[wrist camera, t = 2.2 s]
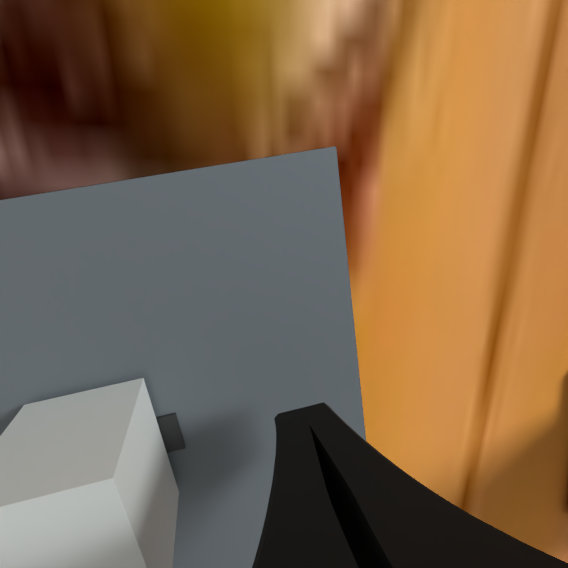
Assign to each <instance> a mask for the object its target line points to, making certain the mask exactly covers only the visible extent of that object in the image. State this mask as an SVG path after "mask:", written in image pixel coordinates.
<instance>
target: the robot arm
mask: <svg viewBox="0 0 568 568" xmlns="http://www.w3.org/2000/svg"><path fill="white" fill-rule="evenodd" d="M274 420H275V425H276V455H275V463H274V472H273V480H272V486H271V491H270V497H269V502H268V507H267V512H266V517H265V521H264V525H263V530H262V534H261V538H260V541H259V545H258V549H257V552H256V556H255V559H254V563H253V566H252V568H568V563H566V562H564V561H562V560H559V559H557V558H555V557H553V556H551V555H548V554H546V553H544V552H542V551H540V550H538V549H535V548H533V547H531V546H529V545H527V544H525V543H523V542H521V541H519V540H517V539H515V538H513V537H511V536H510V535H508V534H506V533H504V532H502V531H500V530H498V529H496V528H494V527H492V526H491V525H489V524H487V523H485V522H483V521H481V520H479V519H477V518H475V517H474V516H472V515H470V514H469V513H467V512H465V511H463V510H462V509H460V508H458V507H457V506H455V505H453V504H452V503H450V502H449V501H447V500H445V499H444V498H442V497H441V496H439V495H438V494H436V493H434V492H433V491H431V490H430V489H428V488H427V487H425V486H424V485H422V484H421V483H419V482H418V481H417V480H415V479H414V478H412V477H411V476H410V475H408V474H407V473H406V472H404V471H403V470H401V469H400V468H399V467H397V466H396V465H395V464H393V463H392V462H391V461H390V460H388V459H387V458H386V457H384V456H383V455H382V454H381V453H380V452H378V451H377V450H376V449H375V448H374V447H372V446H371V445H370V444H369V443H368V442H366V441H365V440H364V439H363V438H362V437H361V436H359V435H358V434H357V433H356V432H355V431H354V430H353V429H352V428H351V427H350V426H348V425H347V424H346V423H345V422H344V421H343V420H342V419H341V418H340V417H339V416H338V415H337V414H336V413H335V412H334V411H333V410H332V409H331V408H330V407H329V406H328V405H327V404H325V403H324V402H323V403H319V404H315V405H311V406H307V407H303V408H299V409H295V410H291V411H287V412H283V413H279V414H277V416H276V417H275V418H274Z"/></svg>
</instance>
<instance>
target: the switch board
mask: <svg viewBox="0 0 568 568" xmlns="http://www.w3.org/2000/svg"><path fill="white" fill-rule="evenodd" d="M140 378H144V381H145V384H146V388H147V391H148V394H149V397H150V400H151V404H152V407H153V410H154V413H155V417H156V420H157V423H158V426H159V429H160V433H161V436H162V439H163V442H164V446H165V449H166V452H167V455H168V458H169V462H170V465H171V468H172V471H173V475H174V478H175V481H176V484H177V487H178V491H179V498H178V509H177V521H176V532H175V543H174V554H173V566H172V568H252V566H253V563H254V559H255V556H256V552H257V549H258V545H259V541H260V538H261V534H262V530H263V525H264V521H265V517H266V512H267V507H268V502H269V497H270V491H271V486H272V480H273V472H274V463H275V455H276V425H275V420H274V418H275V417H276V416H277V414H279V413H283V412H287V411H291V410H295V409H299V408H303V407H307V406H311V405H315V404H319V403H323V402H324V403H325V404H327V405H328V406H329V407H330V408H331V409H332V410H333V411H334V412H335V413H336V414H337V415H338V416H339V417H340V418H341V419H342V420H343V421H344V422H345V423H346V424H347V425H348V426H350V427H351V428H352V429H353V430H354V431H355V432H356V433H357V434H358V435H359V436H361V437H362V438H363V439H364V440H365V441H366V437H365V427H364V417H363V407H362V397H361V387H360V378H359V368H358V358H357V348H356V338H355V329H354V319H353V309H352V299H351V289H350V280H349V270H348V260H347V250H346V240H345V230H344V221H343V211H342V201H341V191H340V181H339V172H338V162H337V152H336V146H335V147H328V148H321V149H315V150H309V151H303V152H297V153H290V154H284V155H278V156H272V157H266V158H259V159H253V160H247V161H241V162H235V163H228V164H222V165H216V166H210V167H203V168H197V169H191V170H185V171H179V172H172V173H166V174H160V175H154V176H148V177H141V178H135V179H129V180H123V181H117V182H110V183H104V184H98V185H92V186H85V187H79V188H73V189H67V190H61V191H54V192H48V193H42V194H36V195H30V196H23V197H17V198H11V199H5V200H0V436H1V435H2V433H3V432H4V431H5V429H6V428H7V427H8V425H9V424H10V423H11V421H12V420H13V419H14V418H15V416H16V415H17V414H18V412H19V411H20V410H21V408H22V407H23V406H24V405H25V404H30V403H34V402H39V401H43V400H47V399H52V398H56V397H61V396H65V395H70V394H74V393H78V392H83V391H87V390H92V389H96V388H100V387H105V386H109V385H114V384H118V383H122V382H127V381H131V380H136V379H140Z"/></svg>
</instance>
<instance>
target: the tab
mask: <svg viewBox="0 0 568 568" xmlns="http://www.w3.org/2000/svg"><path fill="white" fill-rule="evenodd" d="M178 498H179V491H178V487H177V484H176V481H175V478H174V475H173V471H172V468H171V465H170V462H169V458H168V455H167V452H166V449H165V446H164V442H163V439H162V436H161V433H160V429H159V426H158V423H157V420H156V417H155V413H154V410H153V407H152V404H151V400H150V397H149V394H148V391H147V388H146V384H145V381H144V378H140V379H136V380H131V381H127V382H122V383H118V384H114V385H109V386H105V387H100V388H96V389H92V390H87V391H83V392H78V393H74V394H70V395H65V396H61V397H56V398H52V399H47V400H43V401H39V402H34V403H30V404H25V405H24V406H23V407H22V408H21V410H20V411H19V412H18V414H17V415H16V416H15V418H14V419H13V420H12V421H11V423H10V424H9V425H8V427H7V428H6V429H5V431H4V432H3V433H2V435H1V436H0V568H172V566H173V554H174V543H175V532H176V521H177V509H178Z"/></svg>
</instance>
